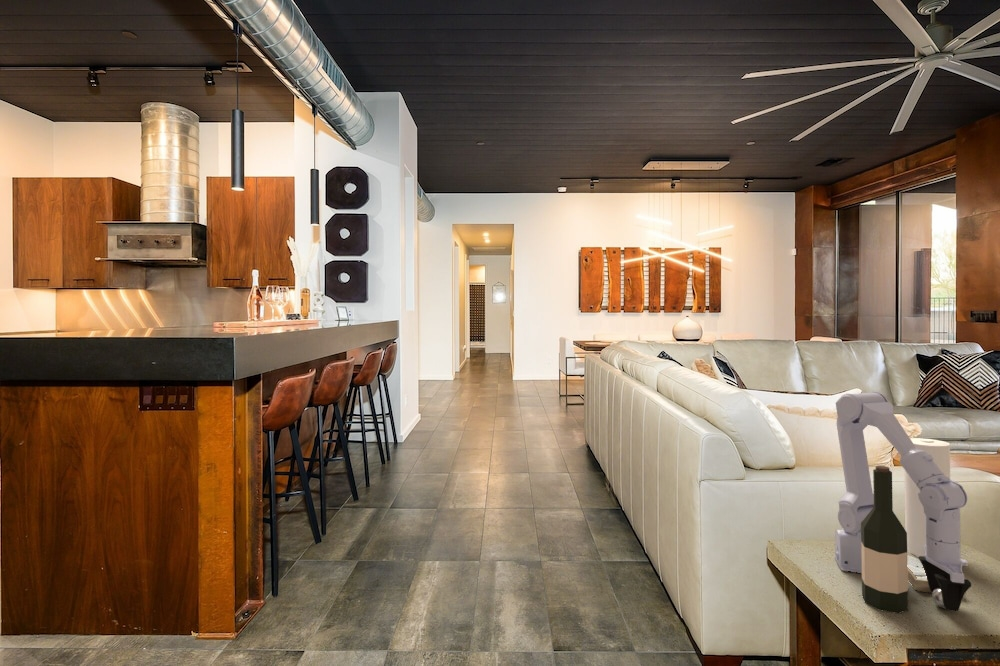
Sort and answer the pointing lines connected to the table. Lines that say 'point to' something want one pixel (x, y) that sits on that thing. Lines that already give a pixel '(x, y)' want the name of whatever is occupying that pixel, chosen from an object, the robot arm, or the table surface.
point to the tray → (918, 582)
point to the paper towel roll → (913, 506)
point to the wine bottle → (884, 550)
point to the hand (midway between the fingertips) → (943, 600)
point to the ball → (938, 597)
